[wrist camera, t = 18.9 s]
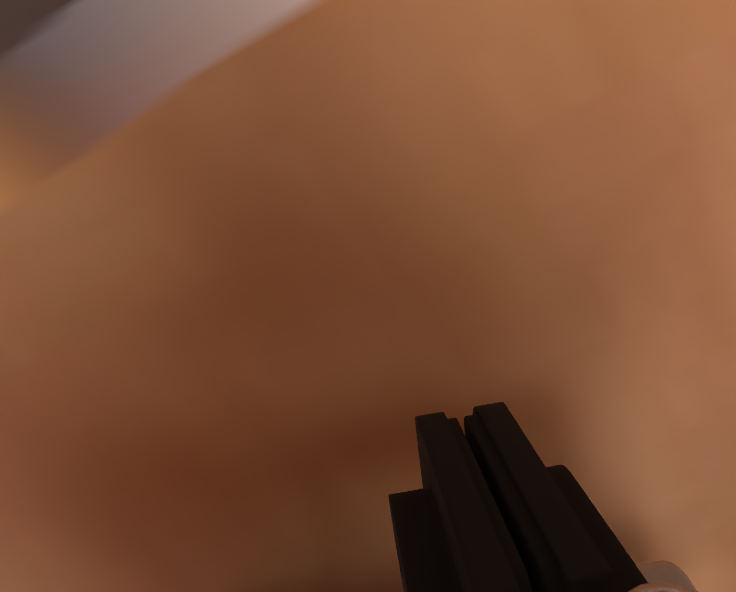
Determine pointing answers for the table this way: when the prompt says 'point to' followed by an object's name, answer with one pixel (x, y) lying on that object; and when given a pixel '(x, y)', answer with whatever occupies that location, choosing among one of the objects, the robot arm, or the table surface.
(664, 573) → the drawer
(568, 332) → the table surface
